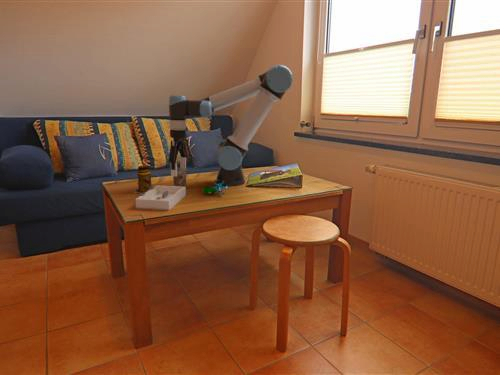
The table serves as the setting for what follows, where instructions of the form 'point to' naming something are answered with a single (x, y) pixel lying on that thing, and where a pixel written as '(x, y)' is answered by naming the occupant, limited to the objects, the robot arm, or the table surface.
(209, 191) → the stick construction toy
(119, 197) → the table surface
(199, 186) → the table surface
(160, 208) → the shallow white tray
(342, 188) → the table surface
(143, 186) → the condiment
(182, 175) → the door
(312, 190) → the table surface
